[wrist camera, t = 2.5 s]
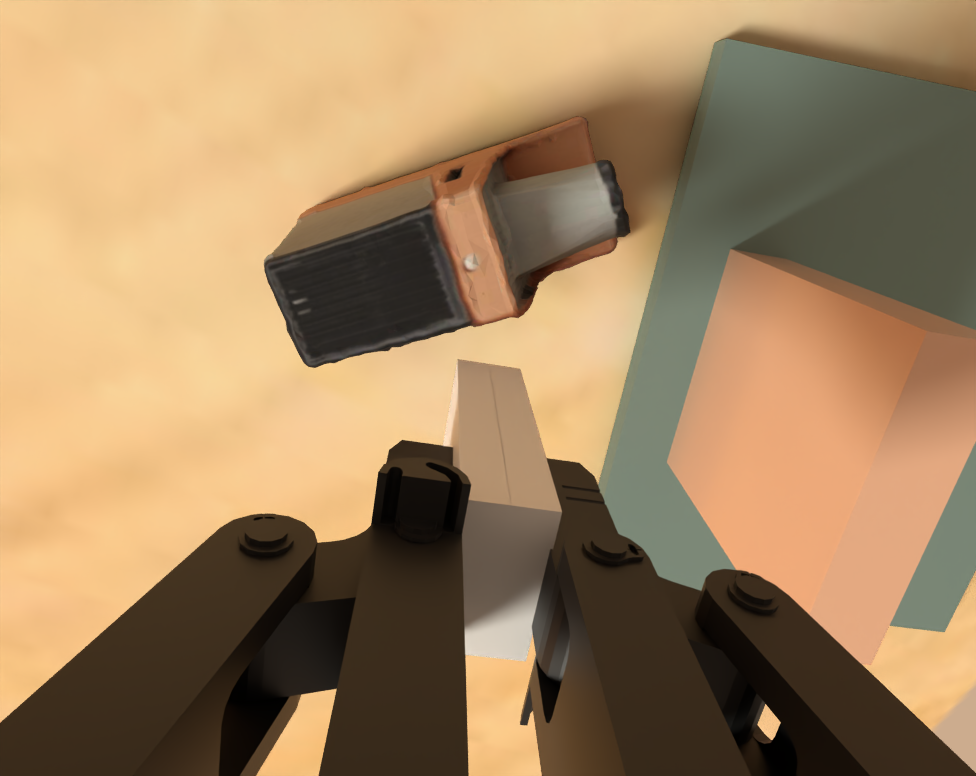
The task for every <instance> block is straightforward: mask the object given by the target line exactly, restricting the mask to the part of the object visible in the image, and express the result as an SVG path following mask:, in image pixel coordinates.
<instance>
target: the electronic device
mask: <svg viewBox="0 0 976 776" xmlns="http://www.w3.org/2000/svg"><path fill="white" fill-rule="evenodd" d="M629 233H630V227H629V217H628V214H627V212H626V210H625V209H624V202H623V194H622V191H621V189H620V187H619V185H618V183H617V180H616V174H615V169H614V166H613V165H612V163H611V162H610V161H608V160H600V161H598V162H596V161H595V157H594V153H593V148H592V144H591V140H590V135H589V131H588V121H587V120H586V119H585V118H583V117H577V116H576V117H574V118H572V119H569V120H567V121H565V122H562V123H559V124H556V125H554V126H551V127H548V128H546V129H543V130H540V131H537V132H534V133H531V134H528V135H526V136H523V137H520V138H517V139H514V140H511V141H508V142H505V143H502V144H499V145H496V146H493V147H489V148H486V149H483V150H480V151H477V152H474V153H471V154H468V155H465V156H462V157H459V158H456V159H454V160H450V161H447V162H440V163H438V164H436V165H434V166H432V167H430V168H427V169H424V170H421V171H418V172H415V173H412V174H409V175H406V176H403V177H399V178H396V179H394V180H391V181H388V182H385V183H383V184H380V185H377V186H374V187H364V188H363V189H362V190H361V191H359V192H356V193H353V194H350V195H347V196H344V197H341V198H338V199H335V200H332V201H329V202H327V203H324V204H320V205H317V206H314V207H312V208H310V209H308V210H307V211H305V212H304V213H302V214H301V215H300V217H299V218H298V221H297V224H296V226H295V227H294V228H293V229H292V230H291V232H290V233H289V234H288V235H287V237H286V238H285V239H284V240H283V241H282V243H281V244H280V246H279V247H278V248H277V249H276V250H274V252H273V253H272V254H270V255H268V256H267V257H266V258H265V260H264V268H265V273H266V277H267V280H268V283H269V285H270V287H271V289H272V291H273V293H274V296H275V298H276V301H277V303H278V306H279V308H280V310H281V312H282V314H283V316H284V318H285V320H286V326H287V331H288V333H289V335H290V337H291V339H292V341H293V343H294V345H295V347H296V349H297V351H298V353H299V355H300V357H301V359H302V361H303V362H304V363H305V364H306V365H307V366H308V367H314V368H316V367H318V366H321V365H323V364H327V363H336V362H338V361H341V360H343V359H346V358H349V357H353V356H358V355H362V354H365V353H371V352H377V351H389V350H390V348H391V347H402V346H403V345H407V344H409V343H411V342H415V341H420V340H425V339H428V338H431V337H434V336H438V335H441V334H444V333H451V332H455V331H456V330H458V329H461V328H464V327H468V326H473V327H477V326H482V325H484V324H489V323H493V322H496V321H500V320H503V319H506V318H509V317H515V318H519V317H520V316H522V315H524V313H525V312H526V311H527V310H528V309H529V308H530V306H531V304H532V302H533V298H534V296H535V293H536V291H537V289H538V287H537V286H538V283H539V282H541V281H543V280H544V279H545V278H546V277H547V276H548V275H550V274H551V273H553V272H555V271H560V270H564V269H566V268H570V267H572V266H575V265H577V264H579V263H581V262H584V261H587V260H590V259H592V258H595V257H599V256H602V255H605V254H609V253H611V252H612V251H614V249H615V248H616V246H617V242H618V241H617V238H616V237H625V236H626V235H628V234H629Z"/></svg>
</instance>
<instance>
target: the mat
mask: <svg viewBox="0 0 976 776" xmlns="http://www.w3.org/2000/svg"><path fill="white" fill-rule="evenodd" d="M730 249H734V250H739V251H745V252H750V253H756V254H761V255H767V256H773V257H778V258H784V259H788V260H791V261H793V262H796V263H799V264H801V265H804V266H807V267H809V268H812V269H815V270H817V271H820V272H823V273H825V274H828V275H830V276H833V277H836V278H838V279H841V280H844V281H846V282H849V283H852V284H854V285H857V286H860V287H862V288H865V289H868V290H870V291H873V292H876V293H878V294H881V295H883V296H886V297H889V298H891V299H894V300H897V301H899V302H902V303H905V304H907V305H910V306H913V307H915V308H918V309H921V310H923V311H926V312H929V313H931V314H934V315H937V316H939V317H942V318H944V319H947V320H950V321H952V322H955V323H958V324H960V325H963V326H966V327H968V328H971V329H974V330H976V91H971V90H967V89H962V88H957V87H952V86H948V85H943V84H938V83H934V82H929V81H924V80H920V79H915V78H910V77H905V76H901V75H896V74H891V73H887V72H882V71H877V70H873V69H868V68H863V67H858V66H854V65H849V64H844V63H840V62H835V61H830V60H826V59H821V58H816V57H811V56H807V55H802V54H797V53H793V52H788V51H783V50H779V49H774V48H769V47H764V46H760V45H755V44H750V43H746V42H741V41H736V40H732V39H727V38H726V39H724V40H721V41H718V42H715V43H714V47H713V51H712V55H711V58H710V62H709V66H708V70H707V74H706V77H705V81H704V85H703V89H702V93H701V96H700V100H699V104H698V108H697V112H696V115H695V119H694V123H693V127H692V131H691V134H690V138H689V142H688V146H687V150H686V153H685V157H684V161H683V165H682V169H681V172H680V176H679V180H678V184H677V188H676V191H675V195H674V199H673V203H672V207H671V210H670V214H669V218H668V222H667V226H666V229H665V233H664V237H663V241H662V245H661V248H660V252H659V256H658V260H657V264H656V267H655V271H654V275H653V279H652V283H651V287H650V290H649V294H648V298H647V302H646V306H645V309H644V313H643V317H642V321H641V325H640V328H639V332H638V336H637V340H636V344H635V347H634V351H633V355H632V359H631V363H630V366H629V370H628V374H627V378H626V382H625V385H624V389H623V393H622V397H621V401H620V404H619V408H618V412H617V416H616V420H615V423H614V427H613V431H612V435H611V439H610V442H609V446H608V450H607V454H606V458H605V461H604V465H603V469H602V473H601V477H600V480H599V484H598V486H599V489H600V493H601V494H602V496H603V498H604V501H605V505H607V508H608V510H609V513H610V515H611V517H612V520H613V522H614V524H615V527H616V529H617V532H618V534H620V535H622V536H624V537H627V538H629V539H631V540H632V541H633V542H635V543H636V544H638V545H639V546H640V547H642V548H643V550H644V551H645V552H646V554H647V555H648V556H649V557H650V560H651V562H652V564H653V566H654V568H655V570H656V572H657V575H658V576H659V577H662V578H664V579H667V580H670V581H672V582H675V583H679V584H682V585H685V586H688V587H691V588H694V589H697V590H700V591H701V590H702V587H703V584H704V581H705V578H706V577H707V576H708V575H709V574H710V573H711V572H712V571H716V570H721V569H732V570H736V569H735V567H734V566H733V564H732V562H731V561H730V559H729V558H728V556H727V555H726V553H725V552H724V550H723V548H722V547H721V545H720V544H719V542H718V541H717V539H716V538H715V536H714V535H713V533H712V531H711V530H710V528H709V527H708V525H707V524H706V522H705V521H704V519H703V517H702V516H701V514H700V513H699V511H698V510H697V508H696V507H695V505H694V504H693V502H692V500H691V499H690V497H689V496H688V494H687V493H686V491H685V490H684V488H683V487H682V485H681V483H680V482H679V480H678V479H677V477H676V476H675V474H674V473H673V471H672V469H671V468H670V466H669V465H668V463H667V460H668V456H669V453H670V450H671V446H672V443H673V440H674V436H675V433H676V430H677V426H678V423H679V419H680V416H681V413H682V409H683V406H684V403H685V399H686V396H687V393H688V389H689V386H690V383H691V379H692V376H693V373H694V369H695V366H696V363H697V359H698V356H699V352H700V349H701V346H702V342H703V339H704V336H705V332H706V329H707V326H708V322H709V319H710V316H711V312H712V309H713V306H714V302H715V299H716V295H717V292H718V289H719V285H720V282H721V279H722V275H723V272H724V269H725V265H726V262H727V259H728V255H729V252H730ZM975 571H976V442H975V444H974V446H973V448H972V450H971V453H970V455H969V457H968V459H967V461H966V463H965V465H964V468H963V470H962V472H961V474H960V476H959V478H958V480H957V482H956V485H955V487H954V489H953V491H952V493H951V495H950V497H949V500H948V502H947V504H946V506H945V508H944V510H943V512H942V515H941V517H940V519H939V521H938V523H937V525H936V527H935V529H934V532H933V534H932V536H931V538H930V540H929V542H928V544H927V547H926V549H925V551H924V553H923V555H922V557H921V559H920V561H919V564H918V566H917V568H916V570H915V572H914V574H913V576H912V579H911V581H910V583H909V585H908V587H907V589H906V591H905V594H904V596H903V598H902V600H901V602H900V604H899V606H898V608H897V611H896V613H895V615H894V617H893V619H892V621H891V623H890V626H897V627H905V628H913V629H922V630H930V631H938V632H945V630H946V628H947V626H948V624H949V622H950V620H951V618H952V616H953V614H954V612H955V610H956V608H957V606H958V604H959V602H960V600H961V598H962V596H963V594H964V592H965V590H966V589H967V587H968V585H969V583H970V581H971V579H972V577H973V575H974V573H975Z"/></svg>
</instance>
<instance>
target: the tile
mask: <svg viewBox="0 0 976 776" xmlns="http://www.w3.org/2000/svg"><path fill="white" fill-rule="evenodd" d="M975 442H976V330H974V329H971V328H968V327H966V326H963V325H960V324H958V323H955V322H952V321H950V320H947V319H944V318H942V317H939V316H937V315H934V314H931V313H929V312H926V311H923V310H921V309H918V308H915V307H913V306H910V305H907V304H905V303H902V302H899V301H897V300H894V299H891V298H889V297H886V296H883V295H881V294H878V293H876V292H873V291H870V290H868V289H865V288H862V287H860V286H857V285H854V284H852V283H849V282H846V281H844V280H841V279H838V278H836V277H833V276H830V275H828V274H825V273H823V272H820V271H817V270H815V269H812V268H809V267H807V266H804V265H801V264H799V263H796V262H793V261H791V260H788V259H784V258H778V257H773V256H767V255H761V254H756V253H750V252H745V251H739V250H734V249H730V252H729V255H728V259H727V262H726V265H725V269H724V272H723V275H722V279H721V282H720V285H719V289H718V292H717V295H716V299H715V302H714V306H713V309H712V312H711V316H710V319H709V322H708V326H707V329H706V332H705V336H704V339H703V342H702V346H701V349H700V352H699V356H698V359H697V363H696V366H695V369H694V373H693V376H692V379H691V383H690V386H689V389H688V393H687V396H686V399H685V403H684V406H683V409H682V413H681V416H680V419H679V423H678V426H677V430H676V433H675V436H674V440H673V443H672V446H671V450H670V453H669V456H668V460H667V463H668V465H669V466H670V468H671V469H672V471H673V473H674V474H675V476H676V477H677V479H678V480H679V482H680V483H681V485H682V487H683V488H684V490H685V491H686V493H687V494H688V496H689V497H690V499H691V500H692V502H693V504H694V505H695V507H696V508H697V510H698V511H699V513H700V514H701V516H702V517H703V519H704V521H705V522H706V524H707V525H708V527H709V528H710V530H711V531H712V533H713V535H714V536H715V538H716V539H717V541H718V542H719V544H720V545H721V547H722V548H723V550H724V552H725V553H726V555H727V556H728V558H729V559H730V561H731V562H732V564H733V566H734V567H735V569H736V570H743V571H747V572H749V573H754V574H756V575H759V576H761V577H762V578H763V579H765V580H767V581H769V582H771V583H773V584H775V585H776V586H777V587H779V588H780V589H781V590H783V591H784V592H785V593H787V594H788V595H789V596H790V597H791V598H792V599H793V600H794V601H795V602H797V603H798V604H799V605H800V606H801V607H802V608H803V609H804V610H805V611H806V612H807V613H808V614H809V615H810V616H811V617H812V618H813V619H814V620H815V621H816V622H818V623H819V624H820V625H821V626H822V627H823V628H824V629H825V630H826V631H827V632H828V633H829V634H830V635H831V636H832V637H833V638H834V639H835V640H836V641H838V642H839V643H840V644H841V645H842V646H843V647H844V648H845V649H846V650H847V651H848V652H849V653H850V654H851V655H852V656H853V657H854V658H855V659H856V660H857V661H859V662H860V663H861V664H865V665H871V664H872V662H873V660H874V658H875V655H876V653H877V651H878V649H879V647H880V645H881V643H882V640H883V638H884V636H885V634H886V632H887V630H888V628H889V626H890V623H891V621H892V619H893V617H894V615H895V613H896V611H897V608H898V606H899V604H900V602H901V600H902V598H903V596H904V594H905V591H906V589H907V587H908V585H909V583H910V581H911V579H912V576H913V574H914V572H915V570H916V568H917V566H918V564H919V561H920V559H921V557H922V555H923V553H924V551H925V549H926V547H927V544H928V542H929V540H930V538H931V536H932V534H933V532H934V529H935V527H936V525H937V523H938V521H939V519H940V517H941V515H942V512H943V510H944V508H945V506H946V504H947V502H948V500H949V497H950V495H951V493H952V491H953V489H954V487H955V485H956V482H957V480H958V478H959V476H960V474H961V472H962V470H963V468H964V465H965V463H966V461H967V459H968V457H969V455H970V453H971V450H972V448H973V446H974V444H975Z"/></svg>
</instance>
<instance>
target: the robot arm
mask: <svg viewBox="0 0 976 776" xmlns="http://www.w3.org/2000/svg"><path fill="white" fill-rule="evenodd" d="M532 634H533V638H534V644H535V651H536V657H535V661H534V665H533V669H532V673H531V677H530V681H529V685H528V689H527V693H526V697H525V701H524V705H523V709H522V714H521V721H520V725H527V724H528V720H529V716H530V713H531V712H532V711H533V713H534V721H535V728H536V735H537V743H538V750H539V757H540V765H541V772H542V776H976V773H975V772H974V771H973V770H972V769H971V768H970V767H969V766H968V765H967V764H966V763H965V762H964V761H962V760H961V759H960V758H959V757H958V756H957V755H956V754H955V753H954V752H953V751H952V750H951V749H950V748H949V747H948V746H947V745H946V744H945V743H943V741H942V740H940V739H939V738H938V737H937V736H936V735H935V734H934V733H933V732H932V731H931V730H930V729H929V728H928V727H927V726H926V725H925V724H924V723H923V722H922V721H921V720H920V719H918V718H917V717H916V716H915V715H914V714H913V713H912V712H911V711H910V710H909V709H908V708H907V707H906V706H905V705H904V704H903V703H902V702H901V701H900V700H898V699H897V698H896V697H895V696H894V695H893V694H892V693H891V692H890V691H889V690H888V689H887V688H886V687H885V686H884V685H883V684H882V683H881V682H880V681H879V680H877V679H876V678H875V677H874V676H873V675H872V674H871V673H870V672H869V671H868V670H867V669H866V668H865V667H864V666H863V665H862V664H861V663H860V662H859V661H857V660H856V659H855V658H854V657H853V656H852V655H851V654H850V653H849V652H848V651H847V650H846V649H845V648H844V647H843V646H842V645H841V644H840V643H839V642H838V641H836V640H835V639H834V638H833V637H832V636H831V635H830V634H829V633H828V632H827V631H826V630H825V629H824V628H823V627H822V626H821V625H820V624H819V623H818V622H816V621H815V620H814V619H813V618H812V617H811V616H810V615H809V614H808V613H807V612H806V611H805V610H804V609H803V608H802V607H801V606H800V605H799V604H798V603H797V602H795V601H794V600H793V599H792V598H791V597H790V596H789V595H788V594H787V593H785V592H784V591H783V590H781V589H780V588H779V587H777V586H776V585H775V584H773V583H771V582H769V581H767V580H765V579H763V578H762V577H761V576H759V575H756V574H754V573H749V572H747V571H743V570H732V569H721V570H716V571H712V572H711V573H710V574H709V575H708V576H707V577H706V578H705V581H704V584H703V587H702V590H701V591H700V590H697V589H694V588H691V587H688V586H685V585H682V584H679V583H675V582H672V581H670V580H667V579H664V578H662V577H659V576H658V575H657V572H656V570H655V568H654V566H653V564H652V562H651V560H650V557H649V556H648V555H647V554H646V552H645V551H644V550H643V548H642V547H640V546H639V545H638V544H636V543H635V542H633V541H632V540H631V539H629V538H627V537H624V536H622V535H620V534H618V532H617V529H616V527H615V524H614V522H613V520H612V517H611V515H610V513H609V510H608V508H607V505H605V501H604V498H603V496H602V494H601V493H600V489H599V486H598V484H597V482H596V479H595V477H594V476H593V475H592V474H591V473H590V472H589V471H588V470H587V469H585V468H584V467H583V466H582V465H581V464H580V463H576V462H569V461H562V460H555V459H548V458H546V455H545V452H544V448H543V445H542V442H541V438H540V435H539V431H538V428H537V425H536V421H535V418H534V414H533V411H532V408H531V404H530V401H529V397H528V394H527V390H526V387H525V384H524V380H523V377H522V373H521V370H520V369H518V368H511V367H505V366H498V365H492V364H485V363H479V362H472V361H466V360H459V359H458V360H457V366H456V372H455V378H454V383H453V389H452V395H451V401H450V407H449V413H448V419H447V425H446V431H445V437H444V443H443V446H441V445H434V444H427V443H420V442H412V441H405V440H402V441H400V442H399V443H398V444H396V445H395V446H394V447H393V448H391V449H390V450H389V453H388V458H387V463H386V464H384V465H383V466H382V468H381V469H380V471H379V472H378V479H377V487H376V494H375V501H374V509H373V516H372V523H371V526H370V527H369V528H368V529H367V530H366V531H364V532H363V533H361V534H359V535H357V536H355V537H352V538H348V539H345V540H340V541H333V542H322V543H317V539H316V536H315V533H314V531H313V530H312V529H311V528H310V527H308V526H307V525H306V524H305V523H304V522H301V521H299V520H296V519H294V518H291V517H289V516H282V515H276V514H255V515H249V516H246V517H242V518H238V519H235V520H233V521H231V522H229V523H228V524H226V525H224V526H223V527H221V528H219V529H218V530H217V531H216V532H215V533H214V534H213V535H212V536H210V537H209V538H208V539H207V540H206V541H205V542H204V543H203V544H201V545H200V546H199V547H198V548H197V549H196V550H195V551H194V552H192V553H191V554H190V555H189V556H188V557H187V558H186V559H185V560H183V561H182V562H181V563H180V564H179V565H178V566H177V567H175V568H174V569H173V570H172V571H171V572H170V573H169V574H168V575H166V576H165V577H164V578H163V579H162V580H161V581H160V582H159V583H157V584H156V585H155V586H154V587H153V588H152V589H151V590H150V591H148V592H147V593H146V594H145V595H144V596H143V597H142V598H141V599H139V600H138V601H137V602H136V603H135V604H134V605H133V606H131V607H130V608H129V609H128V610H127V611H126V612H125V613H124V614H122V615H121V616H120V617H119V618H118V619H117V620H116V621H115V622H113V623H112V624H111V625H110V626H109V627H108V628H107V629H106V630H104V631H103V632H102V633H101V634H100V635H99V636H98V637H97V638H95V639H94V640H93V641H92V642H91V643H90V644H89V645H87V646H86V647H85V648H84V649H83V650H82V651H81V652H80V653H78V654H77V655H76V656H75V657H74V658H73V659H72V660H71V661H69V662H68V663H67V664H66V665H65V666H64V667H63V668H62V669H60V670H59V671H58V672H57V673H56V674H55V675H54V676H53V677H51V678H50V679H49V680H48V681H47V682H46V683H45V684H43V685H42V686H41V687H40V688H39V689H38V690H37V691H36V692H34V693H33V694H32V695H31V696H30V697H29V698H28V699H27V700H25V701H24V702H23V703H22V704H21V705H20V706H19V707H18V708H16V709H15V710H14V711H13V712H12V713H11V714H10V715H9V716H7V717H6V718H5V719H4V720H3V721H2V722H1V723H0V776H256V775H257V773H258V771H259V770H260V768H261V766H262V765H263V763H264V761H265V760H266V758H267V756H268V755H269V753H270V751H271V750H272V748H273V746H274V745H275V743H276V742H277V740H278V738H279V737H280V735H281V733H282V732H283V730H284V728H285V727H286V725H287V723H288V722H289V720H290V718H291V717H292V715H293V713H294V712H295V710H296V708H297V706H298V703H299V700H300V697H301V694H307V693H313V692H319V691H325V690H331V689H337V691H336V695H335V700H334V705H333V710H332V715H331V719H330V724H329V729H328V734H327V738H326V743H325V748H324V753H323V758H322V762H321V767H320V772H319V776H468V738H467V701H466V664H465V655H472V656H482V657H491V658H500V659H510V660H519V661H526V659H527V655H528V651H529V647H530V642H531V638H532ZM765 704H766V705H767V706H768V707H769V708H770V710H771V711H772V712H773V713H774V715H775V716H776V717H777V718H778V719H779V721H780V722H781V724H780V726H779V728H778V731H777V733H776V736H775V737H774V739H773V740H770V739H769V738H768V737H767V736H766V735H765V734H764V733H763V732H762V730H761V729H760V728H759V726H758V725H757V724H758V721H759V719H760V716H761V714H762V711H763V709H764V706H765Z"/></svg>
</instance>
